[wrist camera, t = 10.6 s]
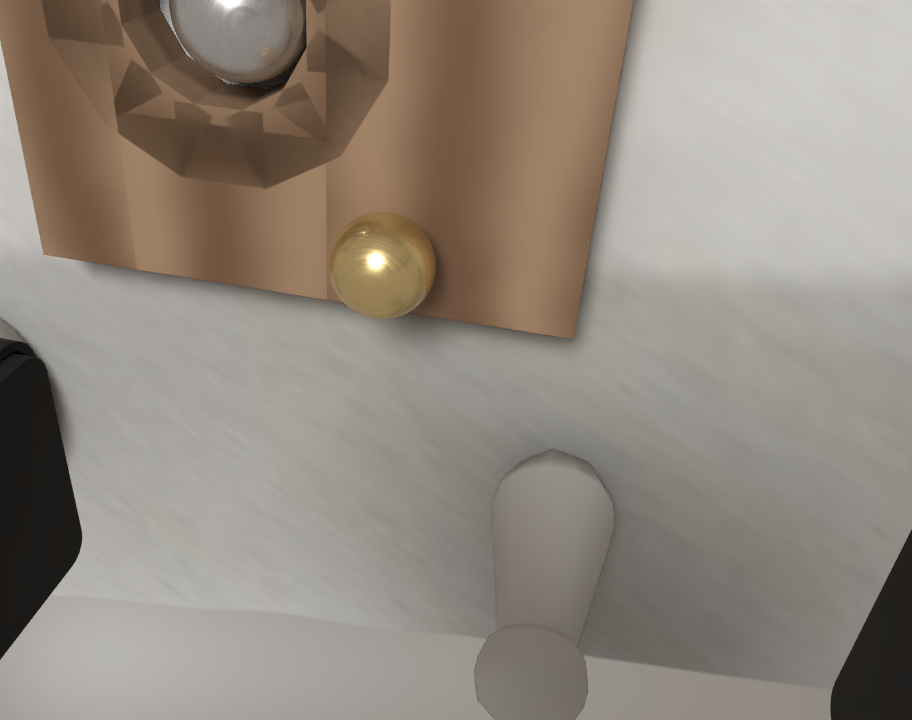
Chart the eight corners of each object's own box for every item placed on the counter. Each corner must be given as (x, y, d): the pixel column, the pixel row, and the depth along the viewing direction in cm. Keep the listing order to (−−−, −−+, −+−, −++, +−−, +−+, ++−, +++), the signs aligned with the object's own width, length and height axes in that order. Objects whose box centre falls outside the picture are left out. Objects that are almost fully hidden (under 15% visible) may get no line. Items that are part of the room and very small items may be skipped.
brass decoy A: (448, 203, 32) (426, 246, 29) (441, 296, 35) (420, 346, 31) (346, 188, 33) (313, 230, 30) (345, 281, 35) (314, 329, 32)
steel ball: (307, -75, 32) (319, -53, 28) (309, 63, 34) (320, 101, 30) (166, -83, 31) (156, -62, 27) (179, 60, 33) (172, 99, 29)
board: (693, -351, 25) (699, -370, 23) (577, 304, 37) (573, 338, 35) (-27, -401, 28) (-93, -423, 25) (81, 227, 40) (43, 254, 37)
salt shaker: (597, 425, 40) (582, 647, 29) (630, 516, 43) (626, 751, 32) (482, 447, 42) (427, 663, 31) (519, 533, 45) (480, 761, 34)
